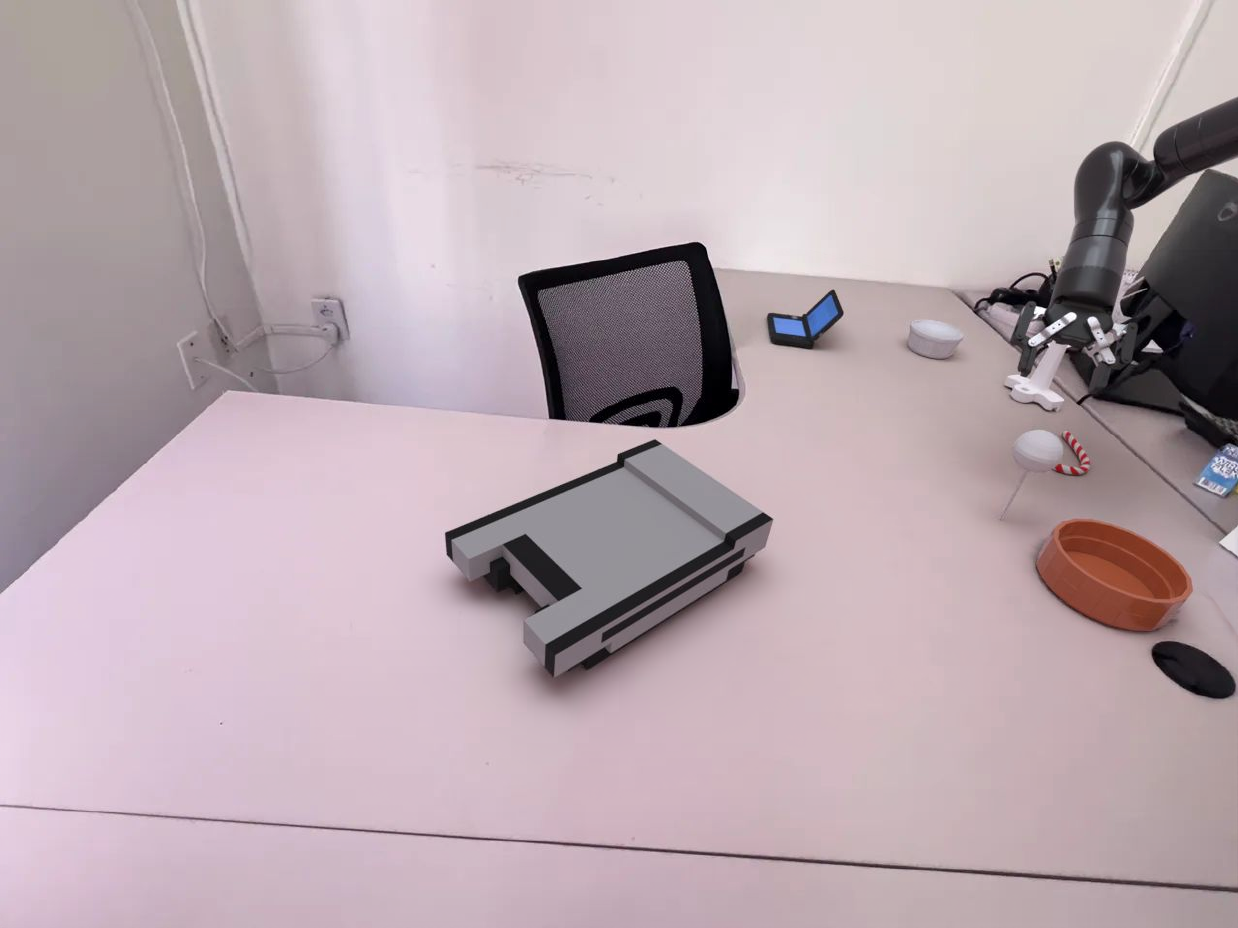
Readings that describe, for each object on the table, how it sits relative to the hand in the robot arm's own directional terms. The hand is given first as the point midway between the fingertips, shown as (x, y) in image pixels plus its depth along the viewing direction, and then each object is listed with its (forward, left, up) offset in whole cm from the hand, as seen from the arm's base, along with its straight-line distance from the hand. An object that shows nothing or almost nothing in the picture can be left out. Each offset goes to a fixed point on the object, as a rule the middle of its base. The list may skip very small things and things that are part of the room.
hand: (1059, 383), depth 89 cm
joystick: (-13, -40, -20) cm, 47 cm away
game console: (+33, -51, -20) cm, 64 cm away
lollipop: (+1, +6, -20) cm, 21 cm away
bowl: (-9, +17, -20) cm, 28 cm away
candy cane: (-14, -19, -20) cm, 31 cm away
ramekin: (+4, -56, -20) cm, 60 cm away
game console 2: (+52, +37, -20) cm, 67 cm away
